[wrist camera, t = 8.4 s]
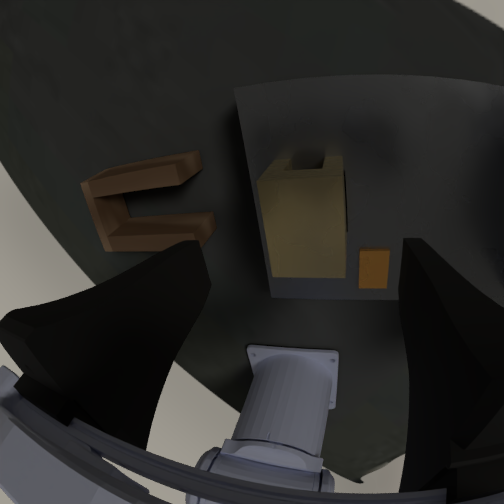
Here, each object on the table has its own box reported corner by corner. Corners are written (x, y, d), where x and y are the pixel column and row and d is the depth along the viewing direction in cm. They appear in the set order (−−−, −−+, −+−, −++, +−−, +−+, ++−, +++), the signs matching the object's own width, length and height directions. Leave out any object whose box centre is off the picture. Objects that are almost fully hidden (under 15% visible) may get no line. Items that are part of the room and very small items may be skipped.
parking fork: (216, 227, 21) (198, 251, 18) (127, 231, 23) (105, 251, 21) (198, 150, 18) (174, 163, 15) (106, 168, 20) (80, 183, 18)
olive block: (347, 217, 17) (345, 278, 13) (294, 218, 18) (272, 276, 14) (342, 143, 15) (342, 177, 10) (284, 147, 16) (256, 181, 11)
